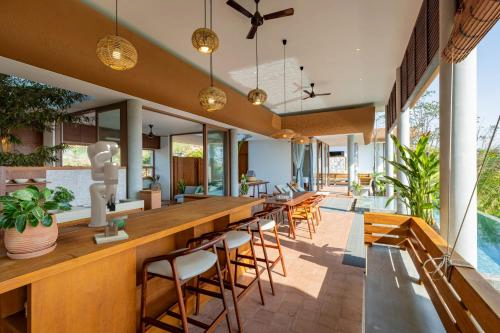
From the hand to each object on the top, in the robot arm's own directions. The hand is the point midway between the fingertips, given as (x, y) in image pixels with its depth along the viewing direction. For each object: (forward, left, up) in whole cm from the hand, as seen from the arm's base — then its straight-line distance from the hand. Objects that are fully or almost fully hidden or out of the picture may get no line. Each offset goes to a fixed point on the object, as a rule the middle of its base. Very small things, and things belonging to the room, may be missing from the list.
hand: (111, 209), depth 142 cm
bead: (0, 0, -16) cm, 16 cm away
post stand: (0, 0, -17) cm, 17 cm away
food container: (-15, +5, -17) cm, 23 cm away
